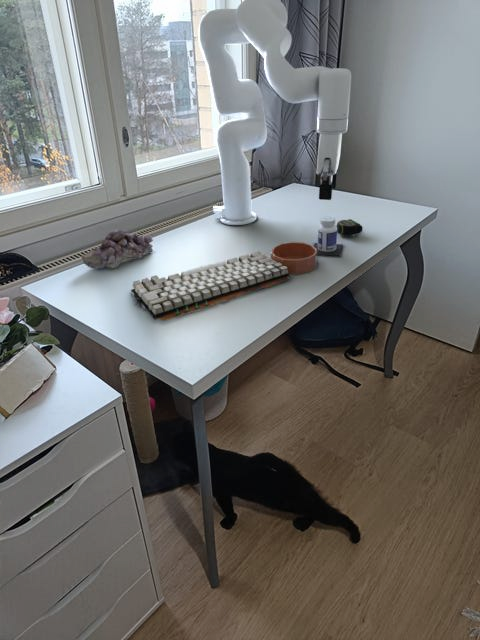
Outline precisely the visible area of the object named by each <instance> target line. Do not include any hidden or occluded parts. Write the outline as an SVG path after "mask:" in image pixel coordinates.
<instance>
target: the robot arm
mask: <svg viewBox="0 0 480 640" xmlns="http://www.w3.org/2000/svg"><path fill="white" fill-rule="evenodd" d="M287 24H288V10H287V8H286V6H285V4H284V3H283V2H282V1H281V0H243V1H241V3H240V4H239V5H238V6H237V8H217V9H212V10H209V11H208V12H206V13H205V14H204V15H203V16H202V17H201V20H200V22H199V25H198V34H197V35H198V37H197V38H198V44H199V48H200V51H201V54H202V57H203V60H204V63H205V66H206V70H207V75H208V81H209V86H210V92H211V97H212V102H213V107H214V110H215V112H216V114H218V115H220V116H223V117H228V116H230V117H231V116H236V115H242V118H236V119H230V120H227V121H224V122H222V123H221V124H219V125H218V126H217V128H216V129H215V132H214V141H215V144H216V149H217V152H218V156H219V163H220V164H219V165H220V175H221V187H222V200H223V205H221V206H218V205H214V206H213V207H212V212H213V214H214V215H215V214H220V216H219V220H220V222H221V223H222V224H225V225H229V226H243V225H248V224H252V223H253V222H255V221H256V220H257V215H258V214H257V213H256V212H254V211H253V203H252V183H251V180H252V179H251V165H250V162H249V160H248V158H247V157H246V155H245V152H247V151H251V150H253V149H258V148H260V147H263V145H265V143H266V141H267V138H268V125H267V119H266V112H265V111H266V110H265V105H264V98H263V94H262V91H261V89H260V86H259V84H258V83H257V82H256V81H254V80H253V79H251V78H244V79H243V78H242V79H239V77H238V72H237V67H236V62H235V60H234V58H233V56H232V53H230V51H229V50H228V49H227V48H226V46H228V45H230V46H231V45H245V44H251V45H252V46H253V47H254V48H255V49H256V50H257V51H258V53H259V54H260V56H262V57H263V60H264V61H263V66H264V67H263V68H264V73H265V77H266V80H267V83H268V84H269V85H270V86H271V88H272V89H273V90H274V91H275V93H276V94H277V95H278V96H279V97H280V98H281V99H282V100H283V101H285V102H287V103H288V104H289V103H290V104H301V103H306V102H313V101H317V111H316V112H317V114H316V131H315V132H316V133H317V134H319V139H318V145H317V147H318V148H317V157H316V158H317V159H316V170H315V171H316V172H315V173H316V175H320V182H319V188H318V189H319V190H318V199H319V200H323V201H331V200H332V198H333V197H332V196H333V190H335V189H336V188H337V176H338V175H337V170H338V168H339V165H340V158H341V150H342V140H343V139H342V138H343V134H345V133H347V132H348V125H349V124H348V123H349V113H350V112H349V111H350V98H351V88H352V87H351V86H352V72H351V70H350V69H348V68H344V67H343V68H342V67H340V68H339V67H335V68H333V67H331V68H330V67H327V66H322V65H316V66H306V67H297V68H295V67H294V66H293V65H291V64H290V63H289V61H288V60H287V59H286V58H285V56H286V55H287V54H288V52H289V50H290V48H291V46H292V41H293V39H292V38H293V37H292V33H291V32H290V31H289V29H287Z"/></svg>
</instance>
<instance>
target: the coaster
mask: <svg viewBox="0 0 480 640" xmlns="http://www.w3.org/2000/svg"><path fill="white" fill-rule="evenodd" d="M313 246H314V247H315V248H316V249H317V256H320V257H321V256H322V257H323V256H324V257H340V256H341V253H342V249H343V244H341V243H337V245H336V250H334V251H332V252H322V251H320V250H318V242H314V244H313Z"/></svg>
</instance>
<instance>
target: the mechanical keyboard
mask: <svg viewBox="0 0 480 640" xmlns="http://www.w3.org/2000/svg"><path fill="white" fill-rule="evenodd" d="M287 273H288V270H287V267H286V266H282V264H281V263H277V262H276V261H274V260H273V261H272V259H271V257H268V256H267V255H266V254H264V253H262V252H261V251H260V250H258V251H255V252H251V253H250V254H248V253H247V254H244V255H240V256H239V257H233V258H229V259H227V261H226V260H220V261H217V262H213V263H209V264H206V265H202V266H198V267H195V268H191V269H188V270H183V271H182V272H181V273H178V272H177V273H174V274H170V275H168V276H167V278H166V277H164V276H162V277H160V278H159V276H158V275H157V274H156V275H152V276H150V278H148V277H144V278H142V279H141V280H139V279H138V280H133V283H132V289H130V291H131V293H132V294H133V298H134V299H135V300H136V304H138V305H139V307H141V308H143V309H144V310H146V311H147V313H148V314H149V315H150V316H151V317H152V319H154V320H160V321H162V322H166V321H168V320H172V319H175V318H178V317H180V316H185V315H187V314H190V313H192V312H197V311H200V310H202V309H206V308H208V307H212V306H215V305H217V303H220V302H221V303H225V302H227V301H230V300H233V299H236V298H237V297H239V296H243V295H246V294H249V293H252V292H253V293H254V292H256V291H260V290H264V289H266V288H268V287H272V286H276V285H277V284H282V283H285V282H287V281H289V280H290V277H291V276H292V275H291V274H287Z"/></svg>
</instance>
